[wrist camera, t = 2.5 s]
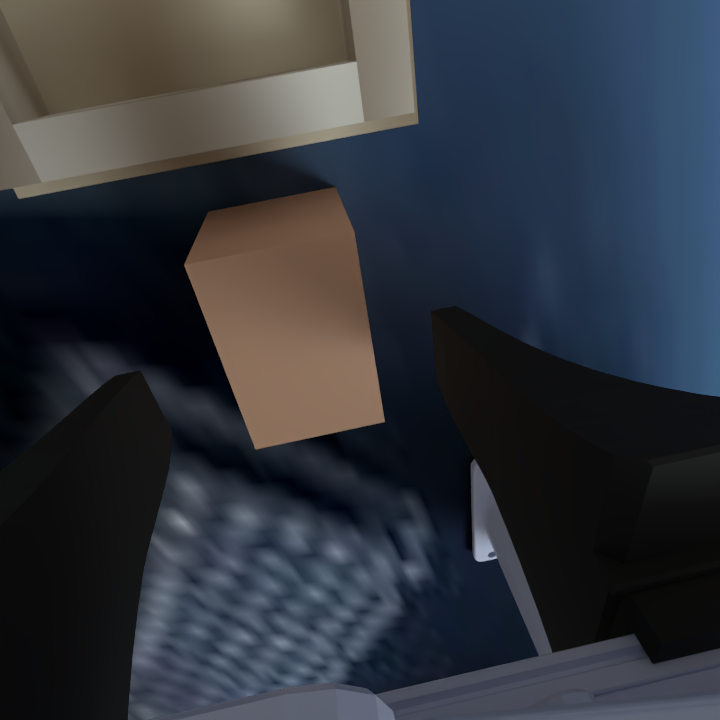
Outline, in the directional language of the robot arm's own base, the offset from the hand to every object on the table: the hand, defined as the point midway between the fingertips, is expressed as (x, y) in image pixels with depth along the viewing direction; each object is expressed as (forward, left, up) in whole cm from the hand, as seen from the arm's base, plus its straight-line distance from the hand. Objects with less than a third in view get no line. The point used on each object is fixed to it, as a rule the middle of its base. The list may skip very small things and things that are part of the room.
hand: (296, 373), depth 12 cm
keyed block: (0, 0, -6) cm, 6 cm away
